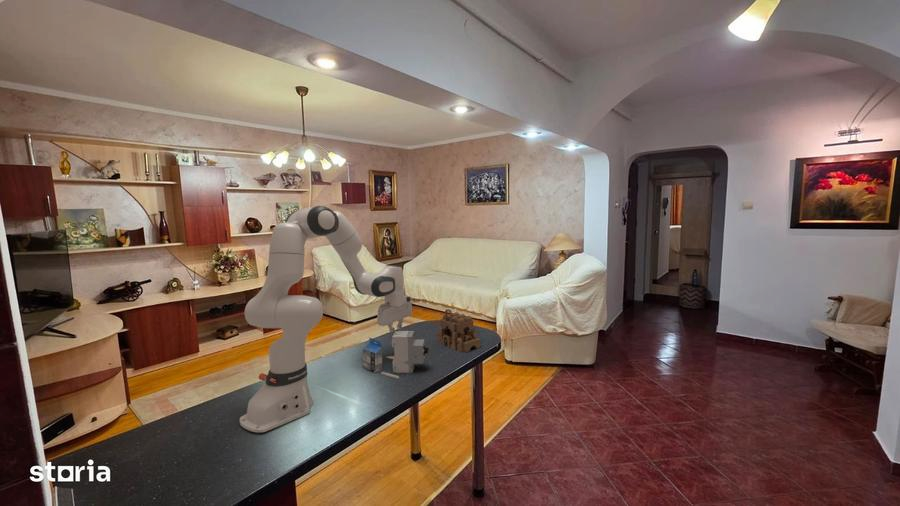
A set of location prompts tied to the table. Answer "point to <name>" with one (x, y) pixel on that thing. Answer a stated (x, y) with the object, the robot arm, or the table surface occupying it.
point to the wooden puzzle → (457, 332)
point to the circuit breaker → (407, 351)
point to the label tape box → (373, 356)
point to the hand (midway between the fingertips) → (395, 330)
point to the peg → (390, 375)
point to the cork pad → (391, 357)
